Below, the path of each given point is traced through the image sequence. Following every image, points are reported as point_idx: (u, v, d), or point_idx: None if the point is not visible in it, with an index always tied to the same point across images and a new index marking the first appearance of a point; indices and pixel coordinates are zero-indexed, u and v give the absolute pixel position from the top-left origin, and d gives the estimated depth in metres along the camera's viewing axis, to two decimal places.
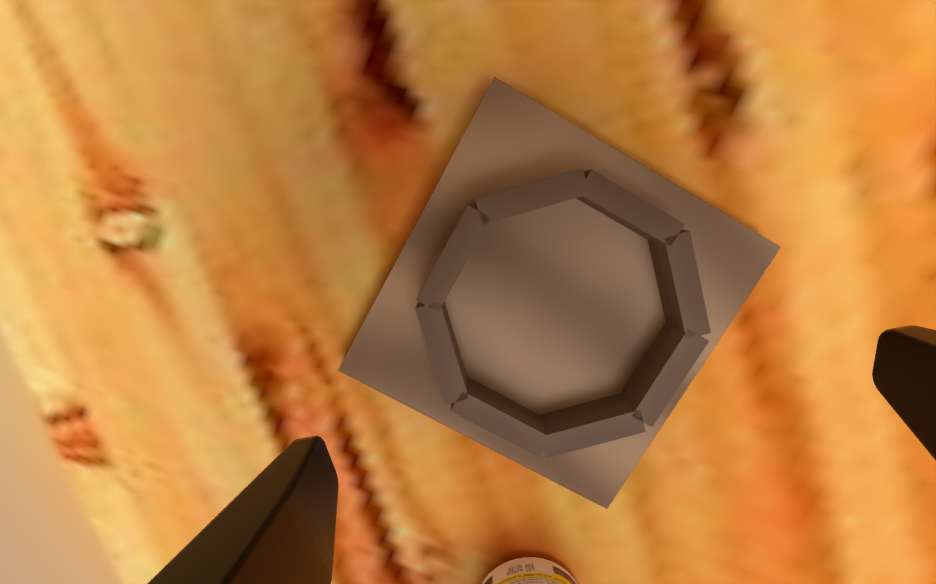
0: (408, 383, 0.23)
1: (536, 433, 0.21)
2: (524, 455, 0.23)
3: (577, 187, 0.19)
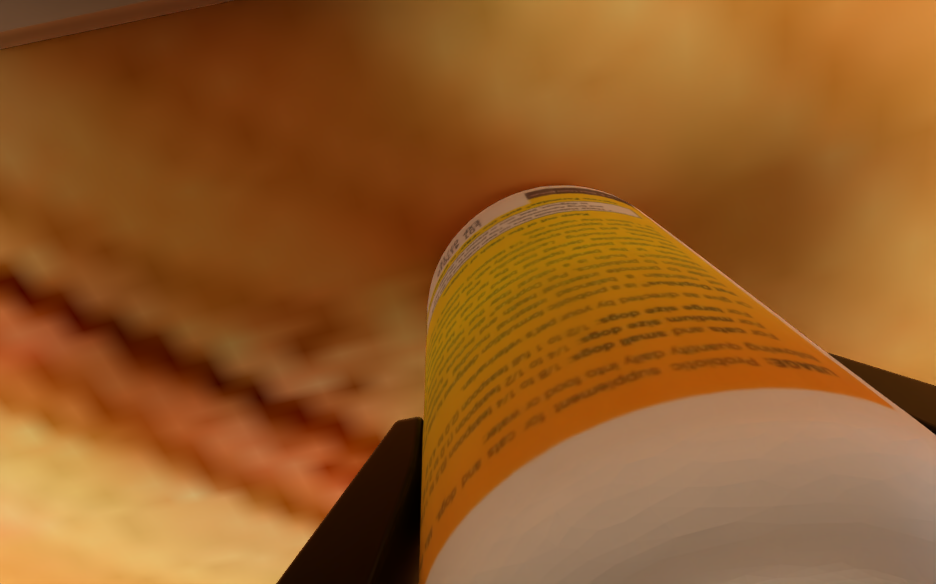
0: None
1: None
2: None
3: None
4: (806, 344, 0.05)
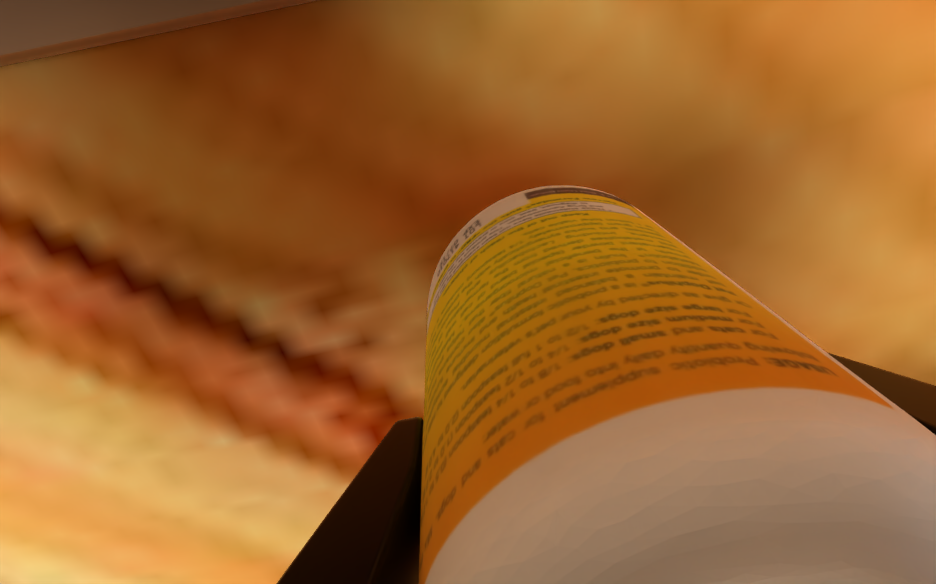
0: None
1: None
2: None
3: None
4: (805, 344, 0.05)
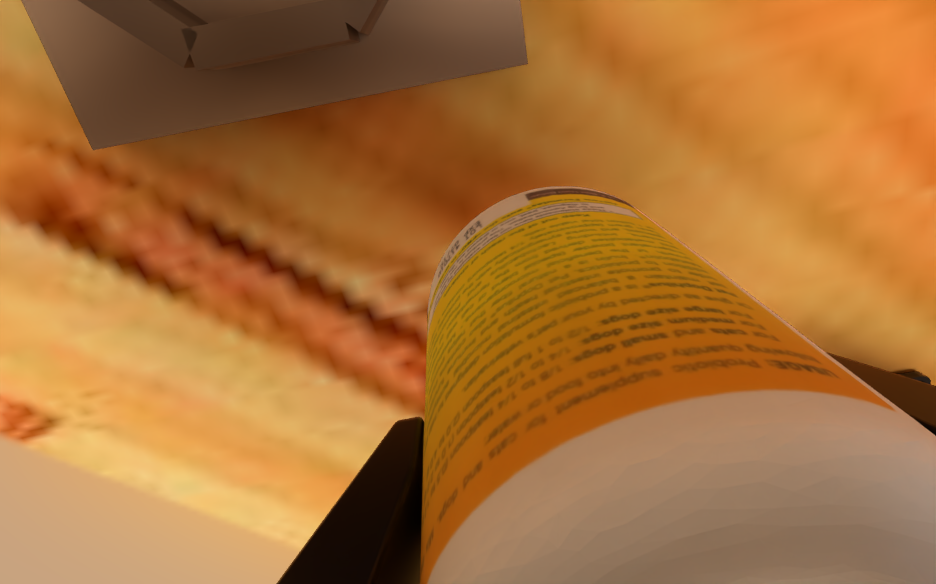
0: (172, 100, 0.16)
1: (317, 8, 0.13)
2: (374, 77, 0.16)
3: None
4: (807, 345, 0.05)
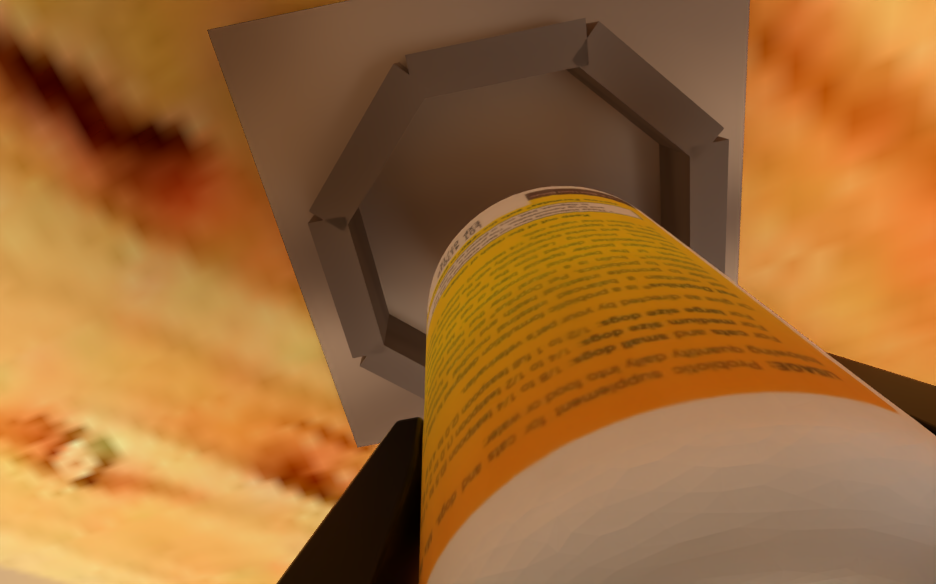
0: None
1: None
2: None
3: (408, 94, 0.12)
4: (808, 347, 0.05)
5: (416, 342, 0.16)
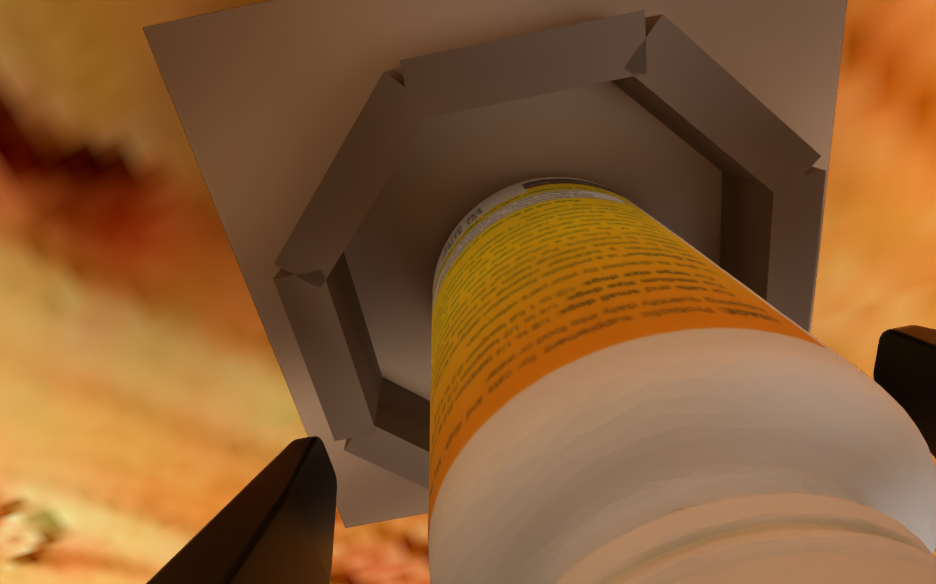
0: None
1: None
2: None
3: (404, 112, 0.09)
4: (759, 301, 0.06)
5: (415, 414, 0.13)
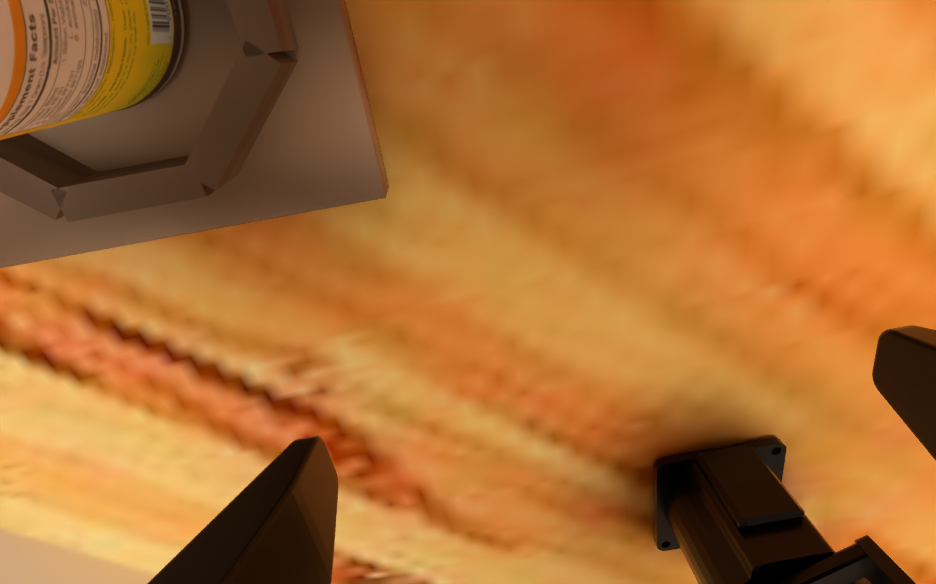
0: (58, 228, 0.17)
1: (174, 172, 0.15)
2: (245, 209, 0.17)
3: None
4: None
5: None
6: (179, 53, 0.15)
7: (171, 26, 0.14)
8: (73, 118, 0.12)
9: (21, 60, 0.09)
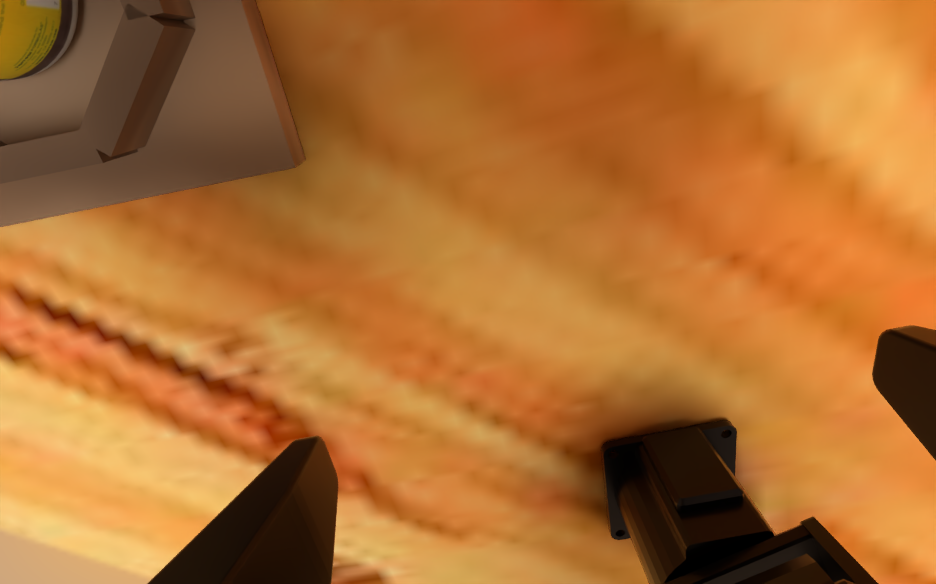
0: None
1: (69, 138, 0.15)
2: (156, 181, 0.18)
3: None
4: None
5: None
6: (72, 21, 0.15)
7: None
8: None
9: None
